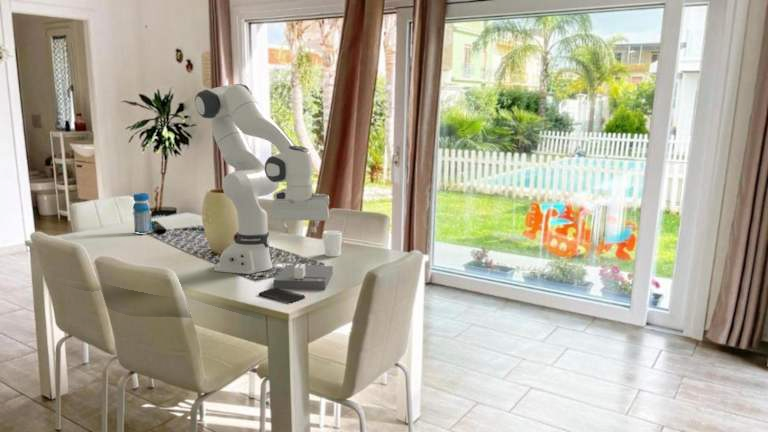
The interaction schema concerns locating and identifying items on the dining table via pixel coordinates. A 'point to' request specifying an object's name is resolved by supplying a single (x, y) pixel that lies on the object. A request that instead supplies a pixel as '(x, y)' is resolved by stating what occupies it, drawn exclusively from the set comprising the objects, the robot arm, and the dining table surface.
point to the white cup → (332, 243)
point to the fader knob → (299, 271)
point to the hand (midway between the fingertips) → (300, 232)
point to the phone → (281, 295)
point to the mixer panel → (312, 280)
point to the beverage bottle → (142, 213)
